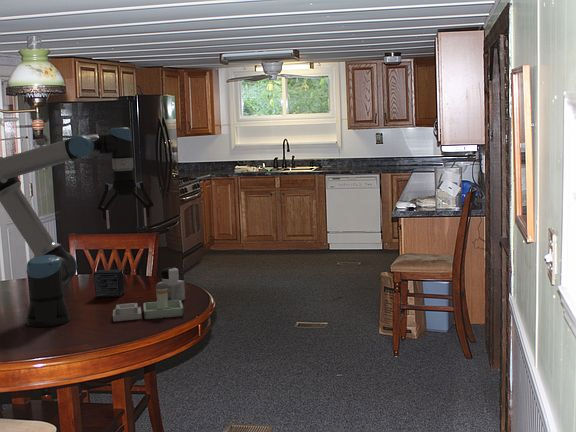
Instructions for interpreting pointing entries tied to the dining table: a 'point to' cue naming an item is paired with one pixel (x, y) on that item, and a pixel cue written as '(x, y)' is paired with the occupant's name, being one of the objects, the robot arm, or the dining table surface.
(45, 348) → the dining table surface
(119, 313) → the holder
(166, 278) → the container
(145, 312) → the tray
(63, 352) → the dining table surface
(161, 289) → the fuse
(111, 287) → the small box
